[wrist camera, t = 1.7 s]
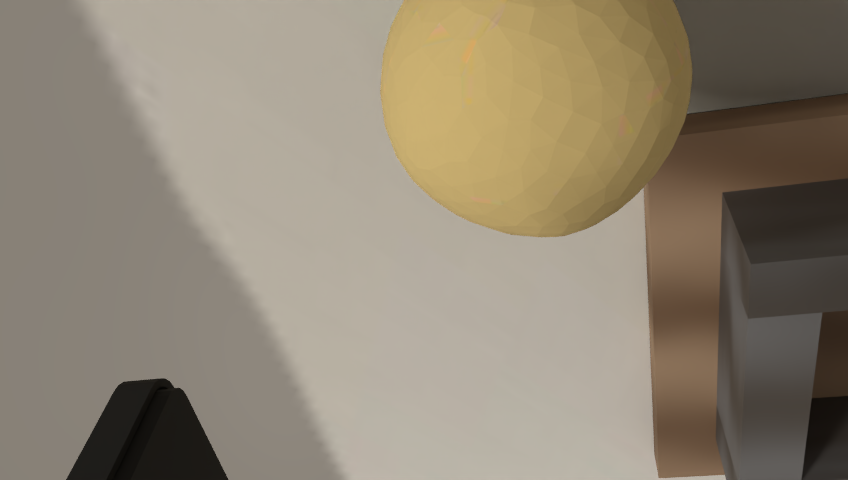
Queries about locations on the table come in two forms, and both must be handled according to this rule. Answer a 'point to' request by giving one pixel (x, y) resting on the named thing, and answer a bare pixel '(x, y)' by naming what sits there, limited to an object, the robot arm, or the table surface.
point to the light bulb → (535, 105)
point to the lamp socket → (751, 294)
